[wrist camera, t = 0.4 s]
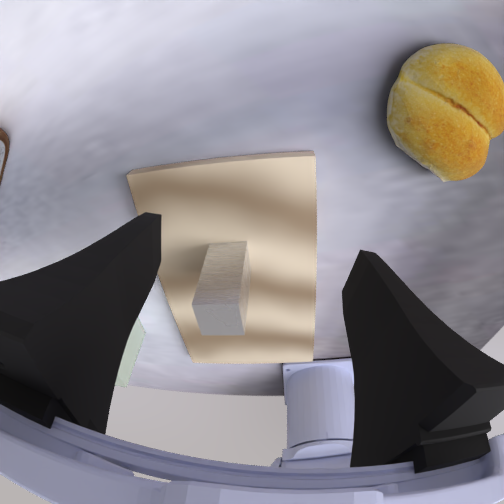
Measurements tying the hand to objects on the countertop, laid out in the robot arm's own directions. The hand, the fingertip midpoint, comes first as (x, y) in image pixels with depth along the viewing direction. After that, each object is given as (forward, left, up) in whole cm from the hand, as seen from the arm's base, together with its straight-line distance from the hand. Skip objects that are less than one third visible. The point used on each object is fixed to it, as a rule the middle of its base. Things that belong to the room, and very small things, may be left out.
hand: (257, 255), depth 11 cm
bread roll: (+4, -12, -10) cm, 16 cm away
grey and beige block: (-6, +3, -10) cm, 12 cm away
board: (-9, +3, -10) cm, 14 cm away
